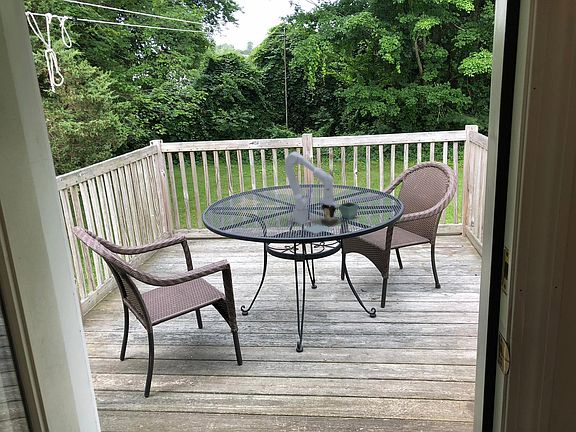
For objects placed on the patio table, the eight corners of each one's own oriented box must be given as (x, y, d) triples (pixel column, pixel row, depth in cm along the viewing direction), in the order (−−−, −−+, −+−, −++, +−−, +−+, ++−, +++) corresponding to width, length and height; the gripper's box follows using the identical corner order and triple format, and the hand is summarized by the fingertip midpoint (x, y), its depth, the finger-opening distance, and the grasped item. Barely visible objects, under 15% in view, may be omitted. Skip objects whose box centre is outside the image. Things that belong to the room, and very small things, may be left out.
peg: (324, 221, 285) (324, 208, 282) (329, 219, 287) (329, 207, 285) (329, 222, 282) (328, 209, 279) (334, 220, 284) (333, 208, 282)
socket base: (311, 222, 286) (311, 219, 285) (330, 217, 295) (330, 213, 295) (328, 228, 274) (328, 224, 273) (347, 221, 283) (347, 218, 282)
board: (302, 230, 273) (302, 229, 273) (317, 225, 280) (317, 224, 280) (315, 234, 264) (315, 233, 264) (331, 229, 271) (331, 228, 271)
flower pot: (348, 221, 285) (348, 207, 282) (339, 218, 291) (338, 204, 289) (358, 218, 289) (358, 204, 287) (349, 215, 296) (348, 202, 294)
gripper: (341, 195, 276) (342, 217, 280) (325, 192, 288) (326, 213, 291) (333, 198, 272) (333, 220, 276) (316, 194, 283) (317, 215, 287)
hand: (329, 216), depth 284 cm, fingers closed on peg, 4 cm apart
